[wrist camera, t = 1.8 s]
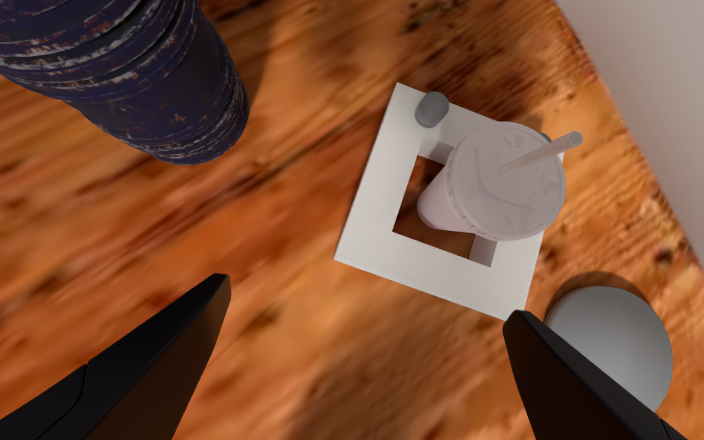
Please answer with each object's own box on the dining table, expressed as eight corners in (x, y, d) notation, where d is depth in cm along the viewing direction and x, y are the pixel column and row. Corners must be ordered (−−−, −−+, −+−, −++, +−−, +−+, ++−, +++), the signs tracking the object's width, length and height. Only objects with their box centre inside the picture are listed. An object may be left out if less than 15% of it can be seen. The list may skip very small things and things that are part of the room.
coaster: (674, 403, 24) (689, 409, 23) (557, 436, 23) (567, 444, 22) (638, 274, 25) (651, 275, 24) (525, 299, 24) (533, 301, 23)
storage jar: (221, 35, 24) (56, -304, 9) (270, 136, 24) (177, -57, 9) (103, 78, 23) (-301, -236, 8) (152, 187, 22) (-186, 59, 8)
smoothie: (434, 156, 25) (572, 34, 11) (488, 206, 25) (696, 148, 11) (385, 209, 24) (468, 149, 10) (441, 261, 24) (603, 274, 10)
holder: (491, 315, 24) (535, 331, 19) (332, 258, 23) (334, 260, 18) (533, 162, 26) (582, 140, 21) (387, 105, 25) (402, 69, 20)
